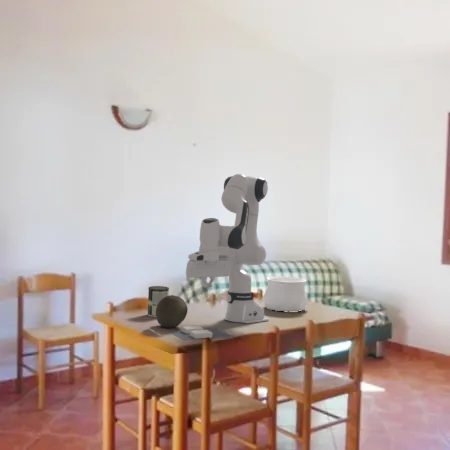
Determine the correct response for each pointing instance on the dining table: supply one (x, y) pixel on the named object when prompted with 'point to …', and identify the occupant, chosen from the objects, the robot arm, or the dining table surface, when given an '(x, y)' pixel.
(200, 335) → the tile
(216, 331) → the mat
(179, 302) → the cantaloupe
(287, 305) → the pot
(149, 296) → the coffee can
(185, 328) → the tile
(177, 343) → the dining table surface
